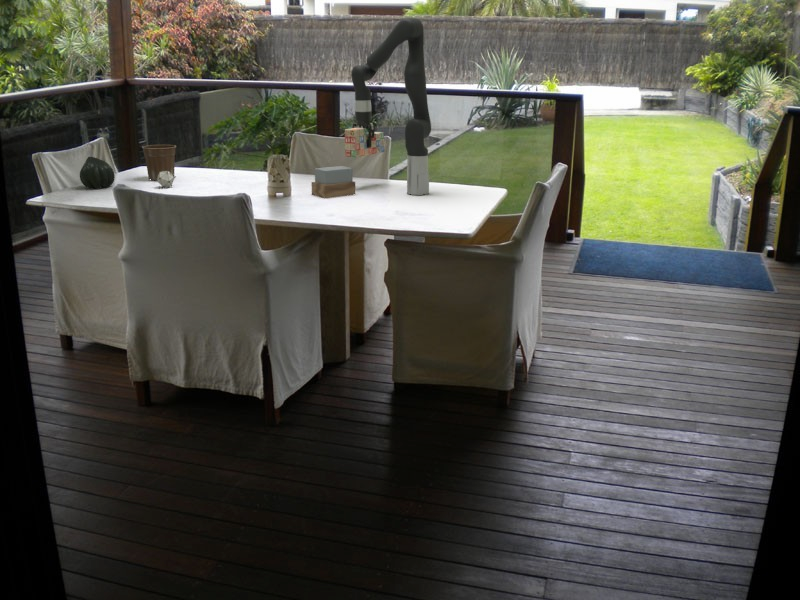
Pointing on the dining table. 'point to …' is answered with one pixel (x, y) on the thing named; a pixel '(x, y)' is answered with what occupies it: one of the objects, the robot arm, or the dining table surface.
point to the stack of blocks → (362, 142)
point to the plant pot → (159, 159)
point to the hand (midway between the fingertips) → (363, 146)
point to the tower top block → (333, 175)
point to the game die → (165, 178)
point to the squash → (96, 173)
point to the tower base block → (333, 189)
